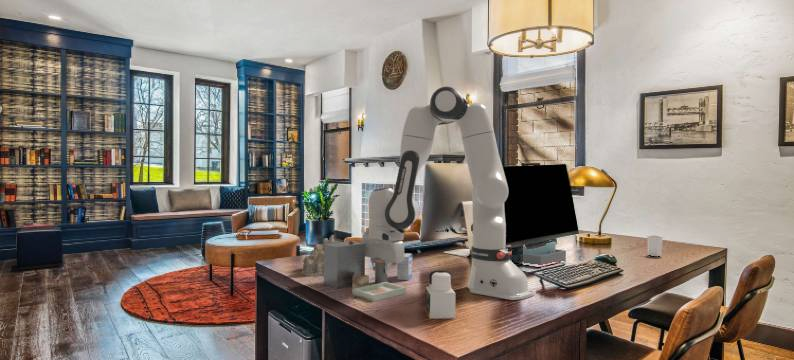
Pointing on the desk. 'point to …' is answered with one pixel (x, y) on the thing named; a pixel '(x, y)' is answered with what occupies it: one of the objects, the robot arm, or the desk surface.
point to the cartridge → (380, 271)
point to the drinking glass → (654, 245)
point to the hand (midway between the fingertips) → (381, 271)
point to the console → (343, 263)
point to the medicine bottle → (440, 296)
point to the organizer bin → (545, 258)
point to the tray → (378, 291)
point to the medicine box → (405, 268)
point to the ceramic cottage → (316, 260)
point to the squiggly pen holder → (541, 249)
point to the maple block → (360, 281)
